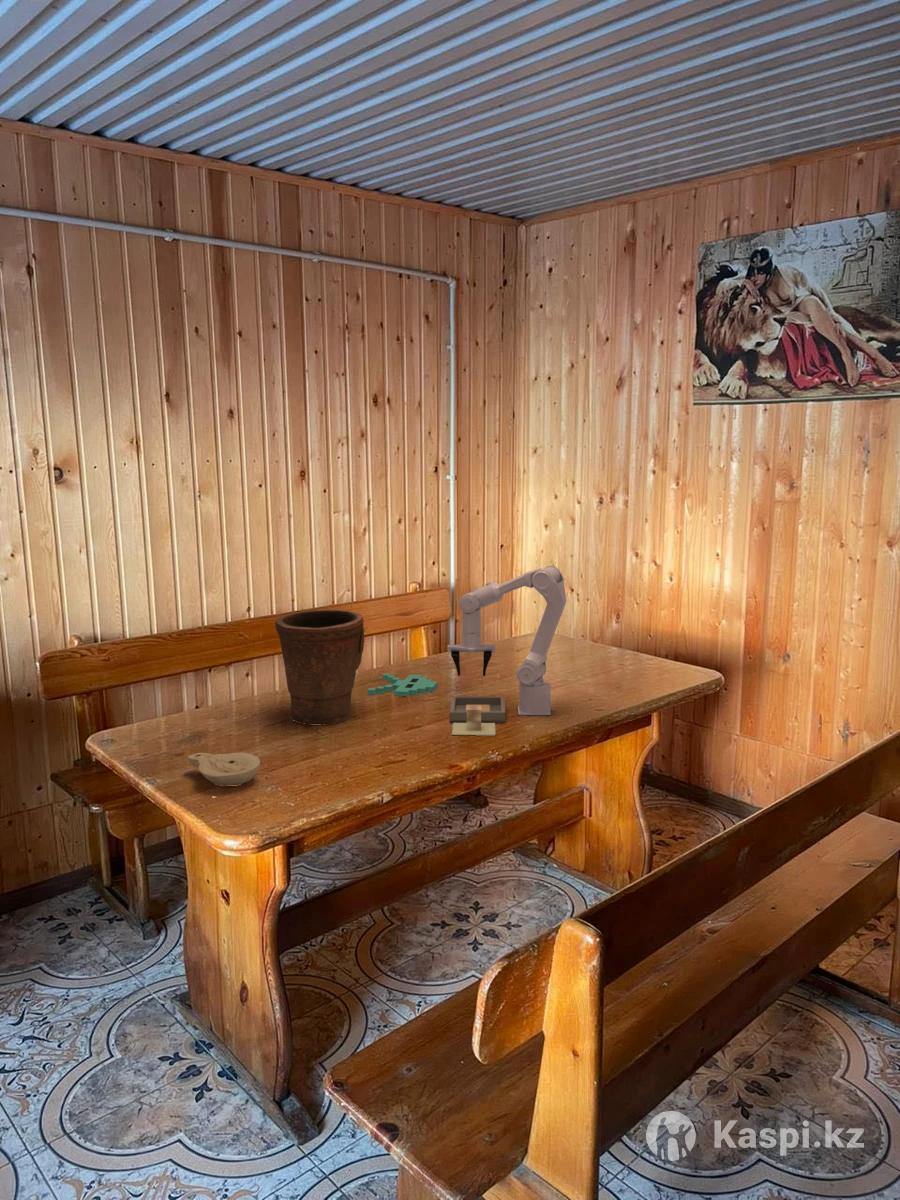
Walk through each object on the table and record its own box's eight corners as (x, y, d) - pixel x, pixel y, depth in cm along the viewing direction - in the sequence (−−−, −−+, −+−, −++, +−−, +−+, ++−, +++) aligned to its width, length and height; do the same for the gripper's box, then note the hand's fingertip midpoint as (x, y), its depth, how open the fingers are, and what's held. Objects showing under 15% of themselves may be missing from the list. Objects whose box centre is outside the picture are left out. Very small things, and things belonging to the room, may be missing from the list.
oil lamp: (167, 780, 215) (166, 761, 215) (212, 762, 227) (211, 743, 227) (230, 798, 205) (228, 778, 204) (273, 778, 217) (272, 758, 216)
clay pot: (392, 711, 268) (390, 613, 263) (316, 735, 247) (312, 630, 241) (336, 695, 285) (333, 603, 279) (261, 716, 264) (256, 617, 258)
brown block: (480, 725, 252) (480, 705, 251) (481, 730, 249) (480, 709, 247) (466, 725, 253) (466, 705, 251) (466, 730, 249) (466, 709, 248)
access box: (504, 706, 272) (504, 696, 271) (505, 723, 256) (505, 712, 255) (451, 706, 272) (451, 696, 272) (449, 723, 256) (449, 712, 256)
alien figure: (367, 696, 285) (428, 699, 281) (367, 689, 285) (428, 692, 281) (384, 679, 304) (441, 682, 300) (384, 673, 304) (441, 676, 300)
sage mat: (495, 724, 255) (494, 723, 255) (495, 735, 245) (495, 734, 245) (453, 724, 255) (453, 722, 255) (451, 735, 246) (451, 734, 246)
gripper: (446, 634, 266) (447, 678, 269) (495, 634, 265) (495, 678, 268) (447, 629, 273) (448, 672, 275) (495, 629, 272) (495, 672, 275)
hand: (471, 674), depth 272 cm, fingers open, 7 cm apart
